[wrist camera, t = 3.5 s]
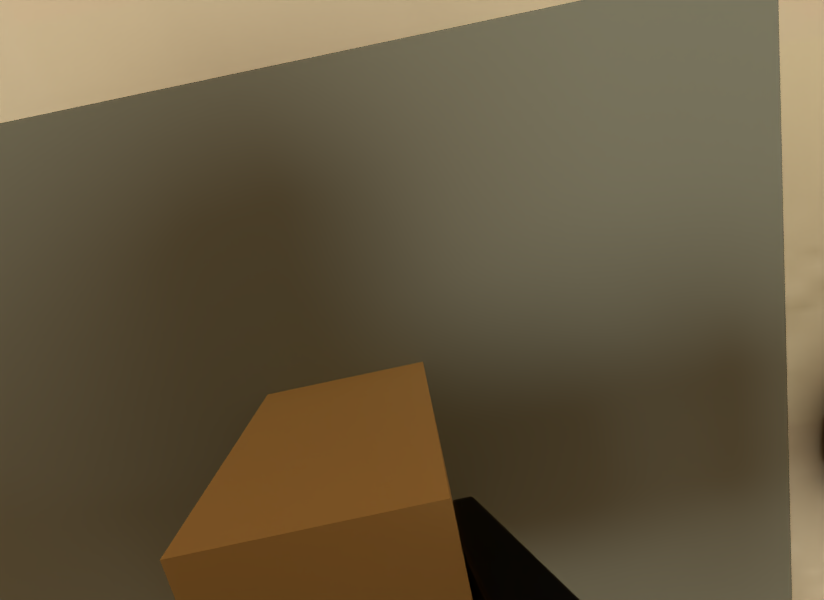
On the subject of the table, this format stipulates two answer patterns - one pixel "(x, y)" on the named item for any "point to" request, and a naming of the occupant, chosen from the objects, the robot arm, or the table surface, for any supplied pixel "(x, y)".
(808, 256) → the table surface
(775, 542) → the lid
